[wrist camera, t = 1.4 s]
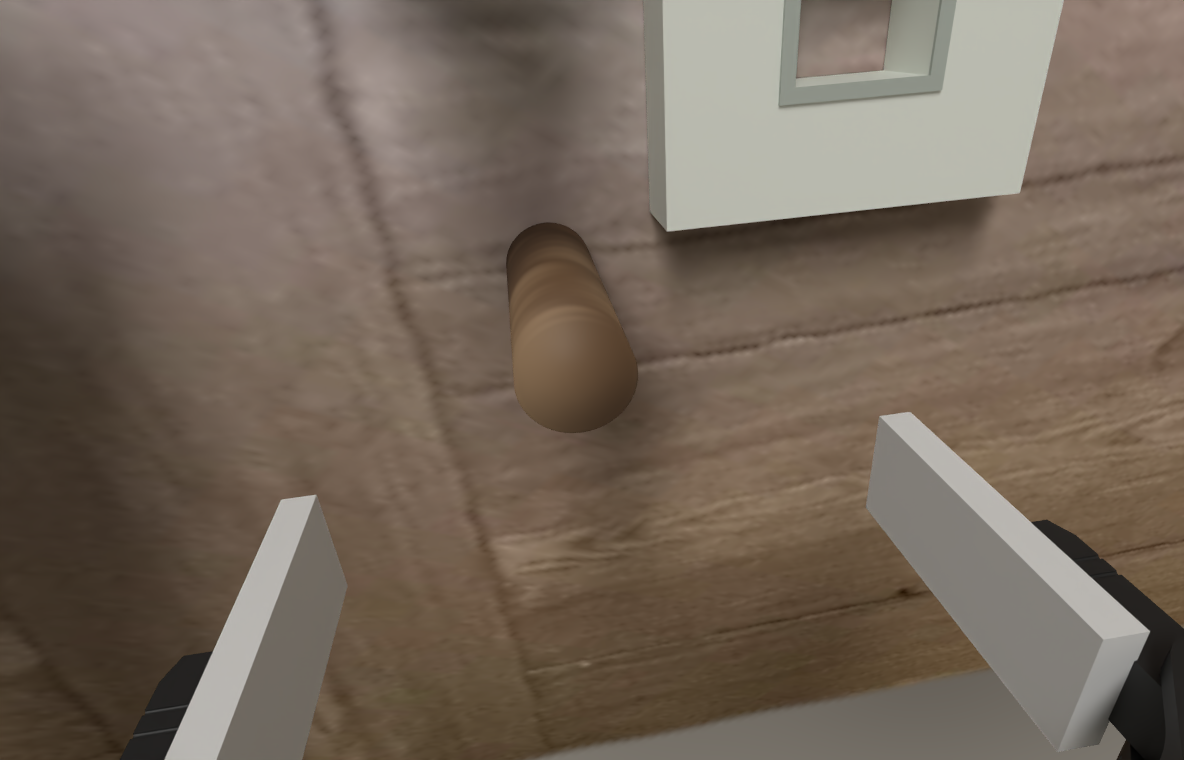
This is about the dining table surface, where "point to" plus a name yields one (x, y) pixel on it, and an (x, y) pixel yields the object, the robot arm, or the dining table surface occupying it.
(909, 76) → the socket board
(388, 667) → the dining table surface
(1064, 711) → the robot arm
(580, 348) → the walnut peg
